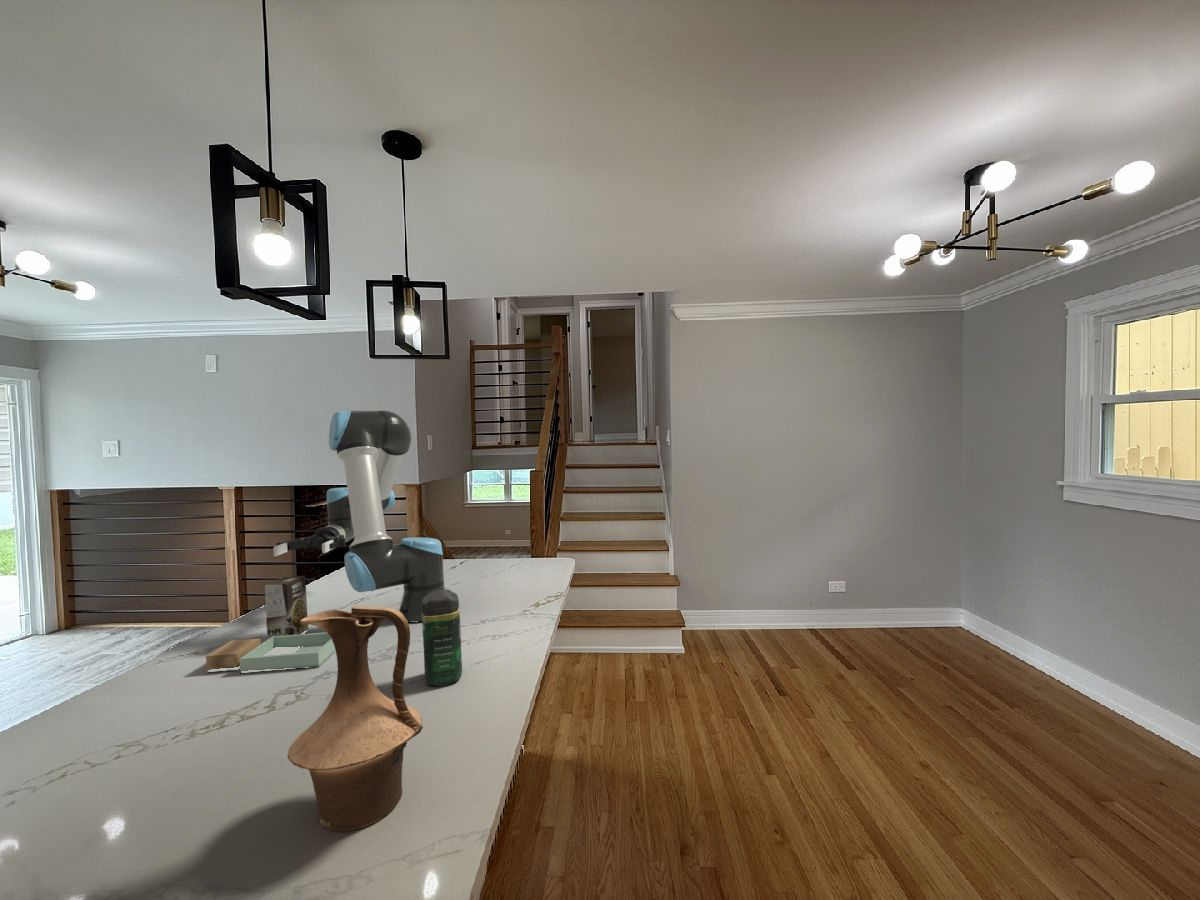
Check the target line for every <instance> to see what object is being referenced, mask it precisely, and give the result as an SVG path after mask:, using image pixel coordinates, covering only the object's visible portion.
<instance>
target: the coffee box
mask: <svg viewBox="0 0 1200 900" xmlns="http://www.w3.org/2000/svg"><path fill="white" fill-rule="evenodd" d="M306 585H307V584H306V576H305V575H296V576H295V575H294V576H284V577H281V578H279V579H275V580H274V581H271V582H269V583H266V584H264V596H265V598H264V599H265V616H266V618H265V619H266V634H267V636H266V637H267V640H268V639H269V638H271V637H273V636H286V635H299V634H301V633H303V632H304V631H306V630H308V631H309V625H308V624H300V620H302V619H303V618H305V617H308V601H307V586H306ZM267 640H266V641H267Z"/></svg>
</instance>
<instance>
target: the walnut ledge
mask: <svg viewBox="0 0 1200 900" xmlns="http://www.w3.org/2000/svg"><path fill="white" fill-rule="evenodd" d="M261 644H262V643H261V638H249V639H237V640H235V639H234V640H230V641H228V642H227V643H225V644H224V645H222V646H219V648H216V649H215V650H214V651H212V652H210V653H209V654H207V655H206V656H205V660H206V662H205V664H206V665H205V666H206V671H207V670H211V669H220V668H234V667H239V666H240V663H239V659H240V658H242V657H243V656H244V655H246V654H247V653H249V652H250V651H252V650H253V649H255V648H256V647H258V646H259V645H261Z"/></svg>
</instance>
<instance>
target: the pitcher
mask: <svg viewBox="0 0 1200 900" xmlns="http://www.w3.org/2000/svg"><path fill="white" fill-rule="evenodd" d="M385 620H386V621H388V622H391V623H392V624H393V625H394V627H395V629H396V632H397V647H396V654H395V659H394V660H395V661H394V662H395V663H394V665H393V672H392V685H391V689H392V691H391V692H392V696H393V697H392V699H393V700H392V699H391V698H389V697H388V696H386V695H385V694H383V693H382V692H381V691H380V689H379V688H378V687H377V685H376V683H375V682H374V680H373V678H372V675H371V671H370V668H369V658H368V654H369V653H368V648H369V647H368V646H369V639H370V638H372V637H373V636H374V635H375V634H376V632H377V630H378V629H379V628H380V626H381V625H382V623H383V622H384V621H385ZM300 624H308V626H310V625H311V626H316V628H317V627H318V628H319V629H321V630H324V631H325V632H327V633H328V634H329V636H330V637H331V639H332V641H333V643H334V646H335V650H336V652H335V656H336V661H337V677H336V684H335V688H334V692H333V695H332V697H331V700H330V701H329V702H328V705H327V706H326V708H325V710H324V711H323V712H322V713H321V714H320V716H318V718H317V719H316V720H315V721H314V722H313V723H312V724H310V726H308V727H307V728H306V729H305V730H304V731H302V733H300V735H298V736H297V737H296V738H295V739H294V740H293V741H292V743H291V744H290V746H289V747H288V752H287V759H288V760H289V762H290V763H291V764H292V765H293V766H296V767H297V768H300V769H302V770H303V769H304V770H307V771H308V772H309V774H310V778H311V780H312V781H311V782H312V784H313V785H312V786H313V790H314V794H315V800H316V801H315V802H316V806H317V811H318V812H317V813H318V821H319V823H320V825H321V827H324V828H325V829H327V830H329V831H335V832H346V831H352V830H353V831H354V830H358V829H361V828H364V827H367V826H369V825H371V824H373V823H375V822H377V821H379V820H380V819H383V818H384V817H385V816H386V815H387V814H389V813H390V812H391V811H393V809H394V808H395V807H396V806H397V805H398V804H399V802H400V800H401V798H402V796H403V783H402V782H403V781H402V778H403V761H404V750H405V748H406V747H407V744H408V741H410V740H411V739H413V738H414V737H416V736H418V735H419V734H420V733H421V732H422V730H423V728H424V726H423V725H422V720H423V719H422V715H420V713H419V712H418V710H417V709H415V708H414V707H412V706H410V705H407V703H406V700H405V697H404V678H405V673H406V664H407V660H408V659H407V658H408V655H409V650H410V643H411V629H410V625H409V622H408V621H407V620H406V618H405V617H404V615H403V614H402V613H401V612H399V609H398V610H397V609H395V608H392V607H386V606H363V605H354V606H352V607H351V611H348V610H339V609H331V610H330V609H329V610H325V611H320V612H316V613H314V614H311V615H309V616H308V617H305V618H303V619H302V620H300Z"/></svg>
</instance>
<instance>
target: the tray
mask: <svg viewBox="0 0 1200 900" xmlns="http://www.w3.org/2000/svg"><path fill="white" fill-rule="evenodd" d="M298 646H300V648H299V650H297V651H296V653H293V654H281V655H268V656H264V655H265V654H267V653H268V652H269V651H271V650H272V649H273V648H275V647H298ZM302 646H303V648H302ZM335 651H336V650H335V646H334V643H333V641H332V639H331V637H330V636H329V634H328V633H327V632H326V631H325V632H314V633H306V634H299V635H286V636H273V637H271V638H269V639H268V640H265V641H263V642H262V643H261V645H259V646H258V647H256V648H255V649H253V650H252V651H250V652H249V653H247V654H246V655H244V656H243V657H242V658H240V659H239V663H240V670H239V672H240V671H248V670H265V669H284V668H305V667H319V668H320V667H322V665H324V663H326V661H328V660H329V659H330V658H331V657H332V656H333V655H334V654H335V653H336V652H335ZM334 652H335V653H334ZM333 653H334V654H333ZM332 654H333V655H332ZM331 655H332V656H331ZM330 656H331V657H330ZM329 657H330V658H329ZM328 658H329V659H328ZM327 659H328V660H327Z"/></svg>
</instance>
